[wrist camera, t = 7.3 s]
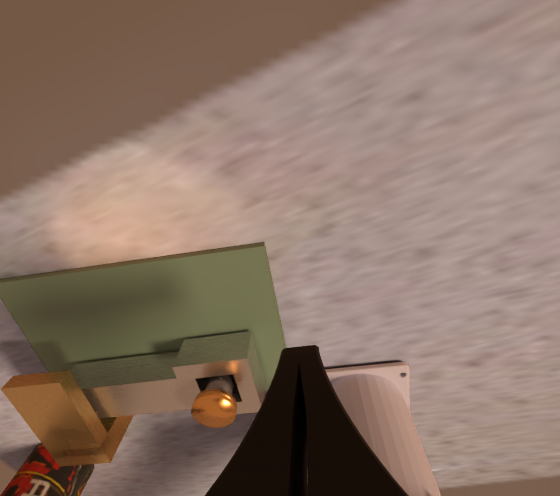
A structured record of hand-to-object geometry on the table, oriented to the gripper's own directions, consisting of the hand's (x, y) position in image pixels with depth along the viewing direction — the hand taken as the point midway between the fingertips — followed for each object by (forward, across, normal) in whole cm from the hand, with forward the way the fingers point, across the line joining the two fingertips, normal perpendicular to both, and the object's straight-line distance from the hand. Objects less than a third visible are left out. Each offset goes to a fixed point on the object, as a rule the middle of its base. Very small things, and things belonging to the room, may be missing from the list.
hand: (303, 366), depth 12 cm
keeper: (+9, +18, +8) cm, 21 cm away
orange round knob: (+9, +6, +8) cm, 13 cm away
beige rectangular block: (+9, +11, +8) cm, 16 cm away
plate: (+9, +12, +5) cm, 16 cm away
